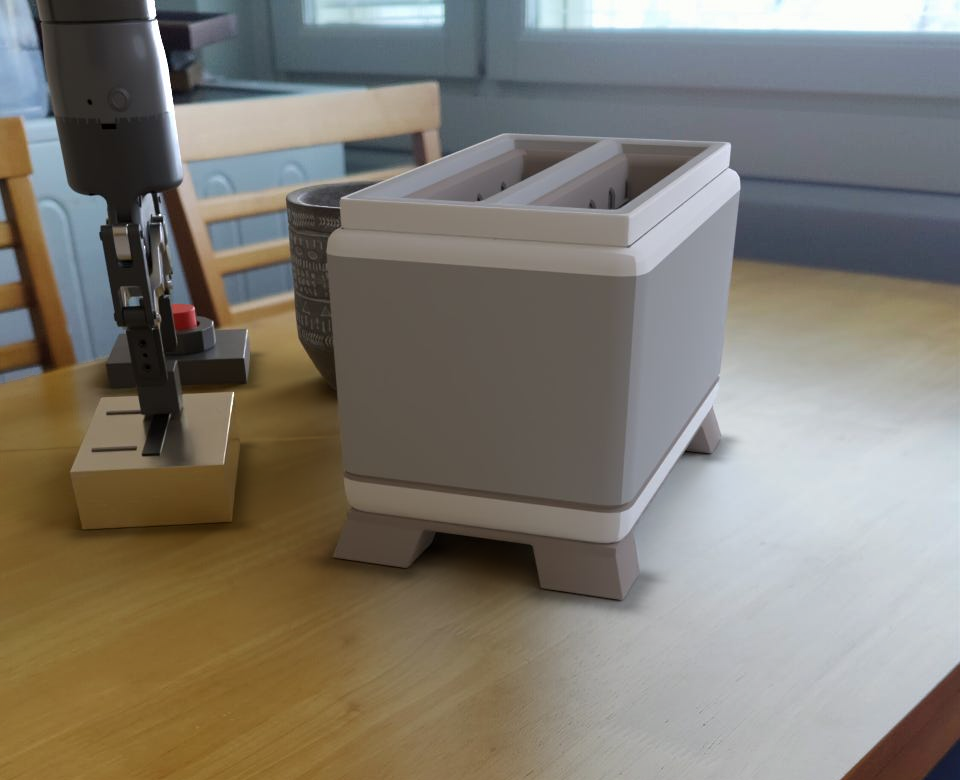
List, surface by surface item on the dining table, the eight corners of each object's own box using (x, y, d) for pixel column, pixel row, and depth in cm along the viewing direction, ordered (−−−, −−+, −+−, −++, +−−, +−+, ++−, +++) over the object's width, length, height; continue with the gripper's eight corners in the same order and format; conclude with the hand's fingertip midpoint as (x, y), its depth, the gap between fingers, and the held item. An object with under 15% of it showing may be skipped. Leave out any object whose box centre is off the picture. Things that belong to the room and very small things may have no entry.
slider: (141, 415, 88) (133, 372, 86) (145, 402, 90) (138, 360, 88) (180, 413, 88) (173, 371, 86) (183, 401, 90) (177, 359, 89)
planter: (432, 352, 115) (427, 175, 106) (483, 394, 105) (482, 201, 96) (286, 368, 112) (268, 185, 103) (324, 413, 101) (307, 214, 92)
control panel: (82, 529, 82) (69, 470, 79) (111, 449, 94) (100, 396, 92) (231, 522, 83) (223, 462, 80) (240, 443, 95) (233, 390, 93)
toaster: (729, 425, 98) (763, 134, 86) (623, 600, 72) (649, 223, 60) (504, 401, 103) (506, 124, 91) (332, 557, 78) (301, 202, 65)
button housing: (110, 389, 107) (101, 342, 104) (123, 358, 115) (115, 313, 112) (247, 383, 108) (241, 336, 105) (250, 352, 116) (245, 308, 113)
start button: (154, 335, 108) (151, 314, 106) (158, 324, 110) (155, 304, 109) (195, 333, 108) (192, 312, 107) (198, 323, 111) (195, 302, 110)
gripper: (70, 95, 83) (117, 343, 93) (34, 121, 72) (92, 400, 81) (181, 92, 83) (215, 339, 93) (163, 117, 72) (204, 395, 82)
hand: (158, 367), depth 87 cm, fingers open, 8 cm apart
